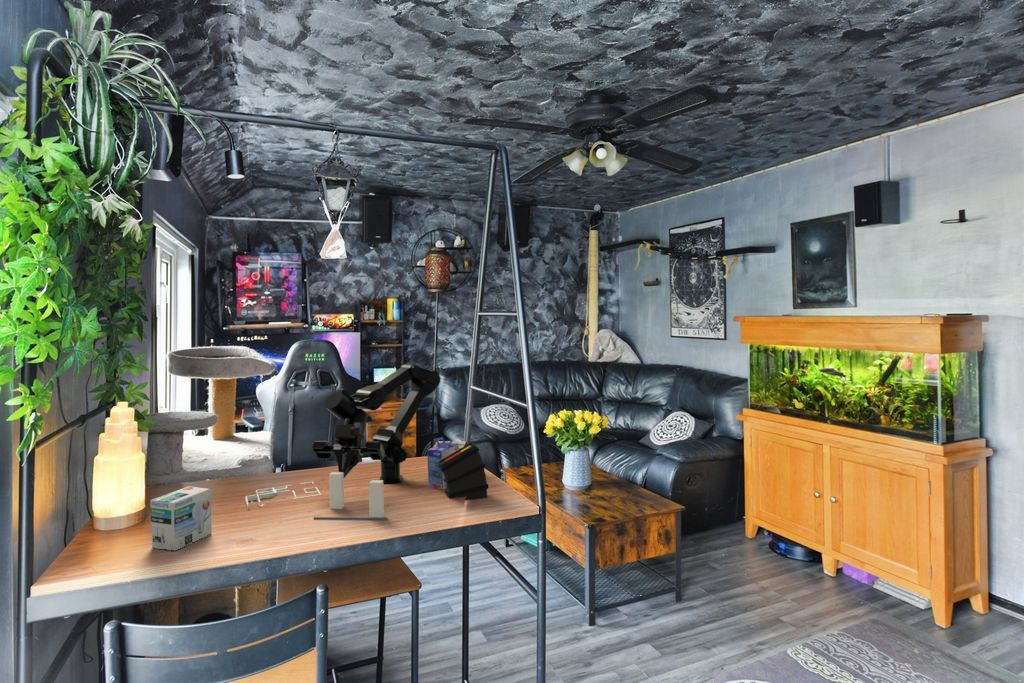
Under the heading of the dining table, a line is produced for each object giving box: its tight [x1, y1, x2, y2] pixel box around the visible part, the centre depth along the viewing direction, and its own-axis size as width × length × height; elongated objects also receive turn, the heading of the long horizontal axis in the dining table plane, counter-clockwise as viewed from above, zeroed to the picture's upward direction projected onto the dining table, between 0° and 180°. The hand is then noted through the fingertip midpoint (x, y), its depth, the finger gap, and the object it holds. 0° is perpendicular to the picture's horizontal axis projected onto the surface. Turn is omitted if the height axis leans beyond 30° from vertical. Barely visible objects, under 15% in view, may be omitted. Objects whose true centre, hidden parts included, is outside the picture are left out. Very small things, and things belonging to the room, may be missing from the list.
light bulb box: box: [150, 485, 213, 552], centre depth 129 cm, size 11×7×11 cm, turn 164°
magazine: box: [438, 442, 490, 501], centre depth 158 cm, size 4×13×15 cm, turn 112°
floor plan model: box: [244, 481, 322, 510], centre depth 156 cm, size 19×25×2 cm
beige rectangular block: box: [368, 479, 385, 518], centre depth 140 cm, size 2×3×9 cm, turn 88°
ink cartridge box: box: [426, 436, 459, 490], centre depth 167 cm, size 10×6×14 cm, turn 155°
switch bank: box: [313, 516, 388, 521], centre depth 145 cm, size 12×18×2 cm, turn 88°
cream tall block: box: [328, 471, 345, 510], centre depth 147 cm, size 2×3×9 cm, turn 88°
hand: (341, 478), depth 150 cm, fingers closed
